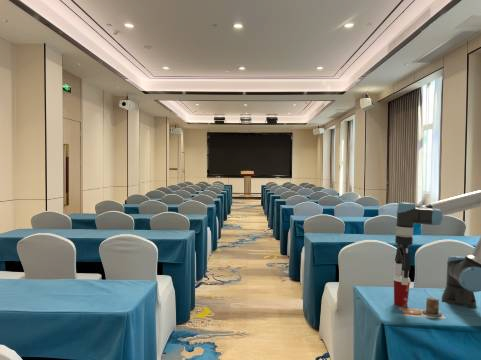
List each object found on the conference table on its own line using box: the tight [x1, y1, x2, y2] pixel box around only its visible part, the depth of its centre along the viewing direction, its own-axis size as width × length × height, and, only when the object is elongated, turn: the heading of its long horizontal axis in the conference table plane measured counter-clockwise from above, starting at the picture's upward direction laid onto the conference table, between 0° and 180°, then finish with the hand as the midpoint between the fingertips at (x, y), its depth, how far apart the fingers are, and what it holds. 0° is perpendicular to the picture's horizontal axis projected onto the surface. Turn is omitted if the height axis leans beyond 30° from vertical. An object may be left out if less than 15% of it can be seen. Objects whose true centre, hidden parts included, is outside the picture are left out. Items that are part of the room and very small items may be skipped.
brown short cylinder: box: [425, 297, 440, 315], centre depth 196 cm, size 5×5×6 cm
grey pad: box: [422, 309, 443, 317], centre depth 196 cm, size 8×8×1 cm
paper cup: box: [392, 275, 411, 308], centre depth 208 cm, size 8×8×14 cm
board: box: [399, 307, 447, 320], centre depth 197 cm, size 17×11×1 cm, turn 83°
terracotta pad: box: [401, 307, 422, 315], centre depth 197 cm, size 8×8×1 cm
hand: (401, 280), depth 208 cm, fingers open, 13 cm apart
